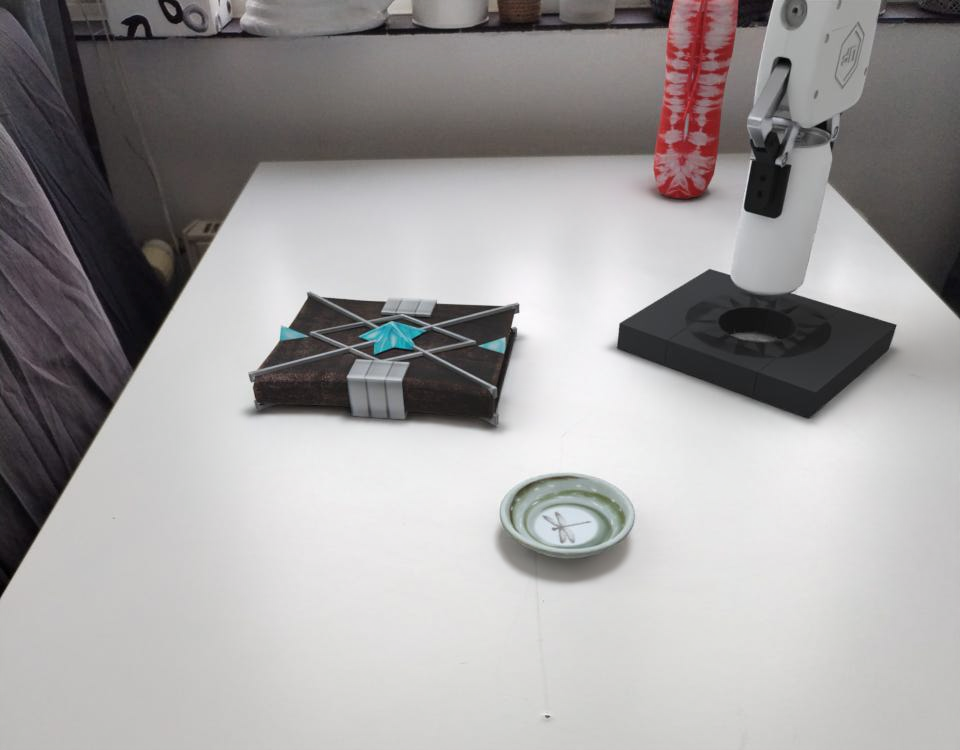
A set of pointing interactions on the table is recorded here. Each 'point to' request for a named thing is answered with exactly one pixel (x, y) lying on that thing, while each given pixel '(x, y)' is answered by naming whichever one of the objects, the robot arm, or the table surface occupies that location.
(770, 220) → the can
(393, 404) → the book
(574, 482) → the saucer
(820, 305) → the pad
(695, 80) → the red tall rounded piece
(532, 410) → the table surface
